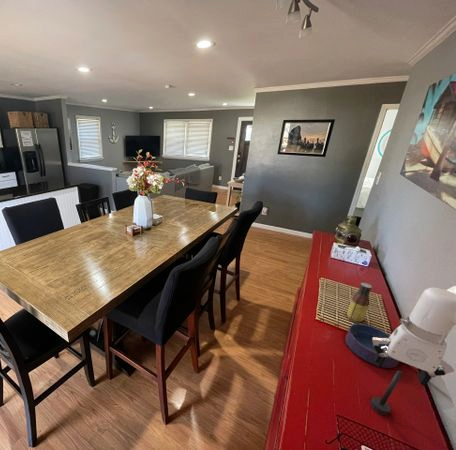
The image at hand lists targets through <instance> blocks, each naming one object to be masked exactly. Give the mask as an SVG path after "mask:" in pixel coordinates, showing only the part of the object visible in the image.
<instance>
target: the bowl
mask: <svg viewBox="0 0 456 450" xmlns="http://www.w3.org/2000/svg"><path fill="white" fill-rule="evenodd" d="M390 336H391V334H388V333H387V332H385V331H384V330H381V329H380V328H378V327H374V326H371V325H368V324H364V323H353V324H352V325H350V326H349V328H348V329H347V332H346V334H345V337H344V340H345V343H346V345H347V347H348V348H349V349H350V350H351V351H352V352H353V353H354V354H355V355H356V356H357V357H359V358H361V359H362V360H364V361H365V362H368V363H370V364H372V365H374V366H377V363H376V362H375V356H376V355H377V352H376V350H375V348H374V345H373V341H372V338H373V337H376V338H389V337H390ZM379 346H380V347H384V346H386V344H379ZM399 363H401V361H398V360H396V359H394V358H392V357H390V356H386V357H385V361H384V363H383V364H382V366H381V367H380V368H385V369H386V368H387V369H392V368H396V367H397V366H398V365H399Z"/></svg>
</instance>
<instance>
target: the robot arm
mask: <svg viewBox="0 0 456 450" xmlns="http://www.w3.org/2000/svg"><path fill="white" fill-rule="evenodd" d="M413 307H414V308H413V309H412V310H411V312H410V314H409V316H407V317H406V318H402V317H400V318H399V323H400V325H399V326H397V327H396V328H395V330H394V331H392V333H391V334H390V337H389V338H376V337H373V338H372V341H373V345H374V348H375V350H376V351H377V352H378V353H377V355H376V356H375V362H376V363H377V365H376V366H377V368H382V367H381V366H382V364H383V363H384V361H385V357H386V356H390V357H392V358H394V359H396V360H398V361H400V363H404V364H405V365H409V366H412V367H414V368H416V369H419V370H420V371H419V373H418V374H417V375H416V377H417V379H418V382H419V385H420V386H423V387H424V386H425V385H426V384H428V383H430V381H431V380H432V378H433V379H434V378H436V377H439V376H446V374H447V375H448V374H451V373H454V372H455V369H454V367H453V366H452V365H450V364H449V363H448V362H446V361H445V359H444V355H445V353H446V349H447V342H446V341H445V340H446V338H447V337H448V335H449V334H450V332H451V331H452V330H453V328H454V326H456V285H453V286H450V287H449V288H448V289H444V288H439V287H427V288H426V289H424V290H423V292H422V293H421V295H420V297H419V299H418V300H417V302H416V304H415V306H413ZM379 344H386V346H384V347H380V346H379ZM384 351H385V352H384Z"/></svg>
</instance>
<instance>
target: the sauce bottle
mask: <svg viewBox="0 0 456 450" xmlns="http://www.w3.org/2000/svg"><path fill="white" fill-rule="evenodd" d="M372 289H373V286H372V285H371V284H369V283H366V282H361V283H360V284H359V288H358V291H356V292H355V293H354V294H353V296H352V299H351V301H350V304H349V307H348V309H347V312H346V319H347V320H348V321H349V322H351V323H353V322H354V323H362V322H363V321H364V319H365V316H366V313H367V311H368V308H369V306H370V293H371V291H372Z"/></svg>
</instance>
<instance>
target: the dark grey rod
mask: <svg viewBox="0 0 456 450" xmlns="http://www.w3.org/2000/svg"><path fill="white" fill-rule="evenodd" d="M402 376H403V372H402V371H401V370H397V371H396V372H395V374H394V376H393V377H392V380H391V381H390V383H389V384H388V386H387V388H386V390H385V391H384V393H383V395H382V396H381V397H378V396H373V397H372V398H371V400H370V402H369V404H370V406H371V408H372V409H373V410H374V411H375V412H376V413H377V414H379V415H382V416H388V415H389V414H390V413H391V406H390V404H389V403H388V402H387V401H388V399H389V397H390V396H391V394H392V393H393V391H394V389H395V388H396V386H397V384H398V383H399V381H400V379H401V378H402Z"/></svg>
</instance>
